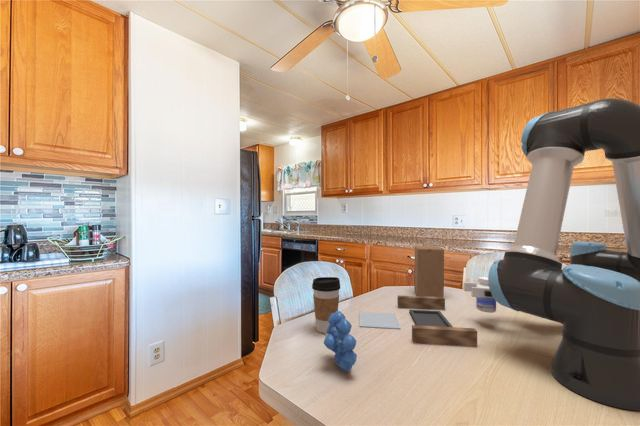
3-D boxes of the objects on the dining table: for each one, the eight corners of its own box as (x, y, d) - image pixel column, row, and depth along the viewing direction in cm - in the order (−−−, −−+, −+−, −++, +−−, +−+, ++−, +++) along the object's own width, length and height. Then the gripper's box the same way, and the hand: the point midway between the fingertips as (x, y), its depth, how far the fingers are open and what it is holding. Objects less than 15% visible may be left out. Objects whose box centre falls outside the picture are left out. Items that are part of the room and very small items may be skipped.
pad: (394, 314, 97) (394, 313, 97) (400, 329, 85) (400, 328, 85) (359, 312, 98) (359, 311, 98) (359, 327, 86) (359, 326, 86)
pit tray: (439, 314, 97) (439, 310, 97) (456, 335, 81) (456, 330, 81) (409, 313, 98) (409, 309, 98) (419, 333, 82) (419, 329, 82)
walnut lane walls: (443, 308, 103) (443, 297, 103) (477, 346, 74) (477, 331, 74) (397, 306, 105) (397, 295, 105) (413, 343, 76) (413, 328, 76)
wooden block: (443, 300, 112) (444, 249, 112) (417, 298, 114) (417, 248, 114) (438, 292, 122) (439, 245, 122) (414, 291, 124) (414, 245, 124)
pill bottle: (499, 313, 85) (500, 280, 85) (479, 312, 85) (480, 279, 85) (491, 307, 90) (492, 276, 90) (472, 306, 91) (473, 275, 91)
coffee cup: (336, 337, 80) (336, 283, 79) (307, 332, 82) (307, 280, 82) (343, 325, 88) (343, 276, 87) (317, 321, 90) (317, 274, 90)
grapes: (313, 357, 69) (314, 307, 69) (339, 351, 71) (339, 303, 71) (334, 384, 58) (334, 325, 58) (363, 377, 61) (363, 320, 61)
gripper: (573, 317, 76) (480, 311, 79) (531, 296, 95) (457, 293, 97) (573, 289, 76) (481, 284, 79) (531, 274, 95) (457, 271, 97)
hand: (468, 289), depth 88 cm, fingers closed on pill bottle, 5 cm apart
